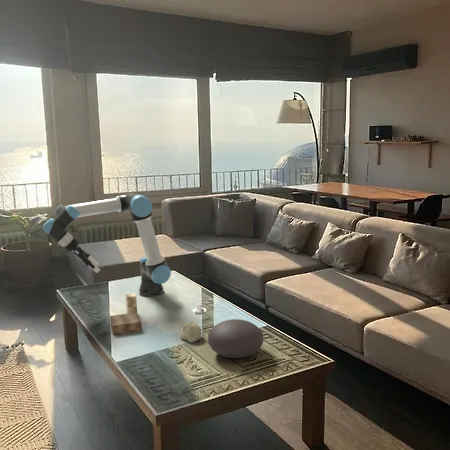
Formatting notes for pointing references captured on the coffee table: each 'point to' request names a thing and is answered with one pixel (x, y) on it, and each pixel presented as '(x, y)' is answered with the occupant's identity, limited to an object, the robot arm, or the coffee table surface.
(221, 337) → the flattened ellipsoid
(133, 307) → the beech block
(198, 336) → the decorative item
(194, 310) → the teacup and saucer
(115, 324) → the walnut block
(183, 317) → the coffee table surface
